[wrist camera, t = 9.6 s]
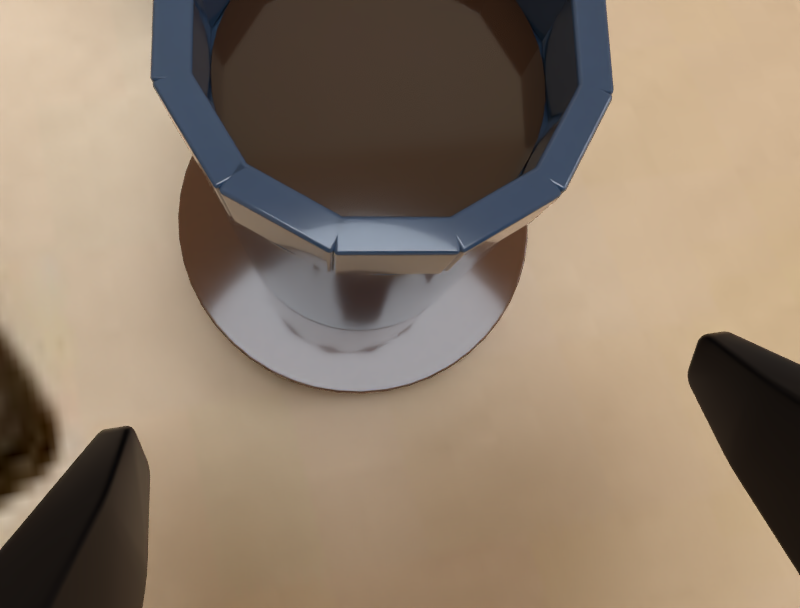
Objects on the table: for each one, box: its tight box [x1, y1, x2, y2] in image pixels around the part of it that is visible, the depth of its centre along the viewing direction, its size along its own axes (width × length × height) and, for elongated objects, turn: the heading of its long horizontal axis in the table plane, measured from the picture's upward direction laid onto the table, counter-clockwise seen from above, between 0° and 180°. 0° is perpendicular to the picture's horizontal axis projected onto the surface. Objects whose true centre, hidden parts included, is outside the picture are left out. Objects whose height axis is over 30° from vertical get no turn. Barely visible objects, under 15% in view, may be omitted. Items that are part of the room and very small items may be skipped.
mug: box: [151, 0, 613, 394], centre depth 15 cm, size 12×11×11 cm
